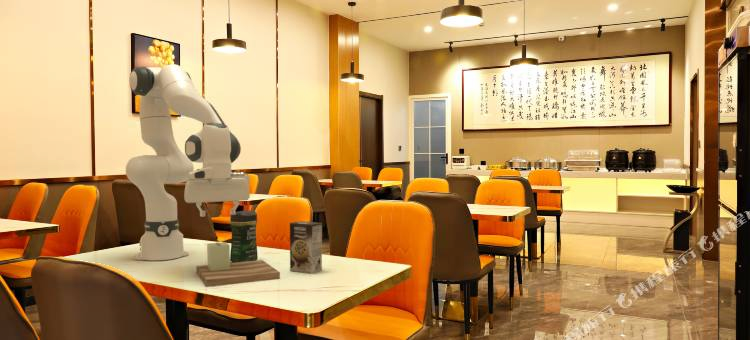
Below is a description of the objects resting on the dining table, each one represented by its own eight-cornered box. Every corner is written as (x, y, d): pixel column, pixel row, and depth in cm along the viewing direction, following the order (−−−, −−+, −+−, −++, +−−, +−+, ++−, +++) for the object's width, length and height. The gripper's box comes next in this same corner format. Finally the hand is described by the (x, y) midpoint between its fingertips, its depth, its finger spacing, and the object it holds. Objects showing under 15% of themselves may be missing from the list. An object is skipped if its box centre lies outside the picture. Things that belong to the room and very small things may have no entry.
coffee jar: (242, 265, 184) (242, 212, 183) (226, 263, 188) (225, 211, 187) (261, 260, 192) (261, 210, 192) (246, 258, 196) (245, 209, 196)
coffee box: (289, 271, 173) (288, 222, 173) (300, 267, 179) (300, 220, 179) (311, 273, 169) (311, 224, 169) (322, 270, 175) (322, 222, 174)
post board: (196, 272, 173) (196, 248, 173) (262, 265, 183) (261, 242, 183) (206, 286, 153) (206, 259, 153) (279, 278, 163) (279, 252, 163)
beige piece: (207, 267, 171) (207, 243, 170) (226, 265, 173) (225, 241, 173) (210, 271, 165) (210, 245, 165) (229, 269, 168) (229, 244, 168)
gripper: (247, 172, 176) (247, 213, 176) (183, 173, 167) (183, 216, 167) (251, 172, 170) (252, 214, 171) (185, 173, 161) (186, 218, 162)
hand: (217, 215), depth 169 cm, fingers open, 8 cm apart
